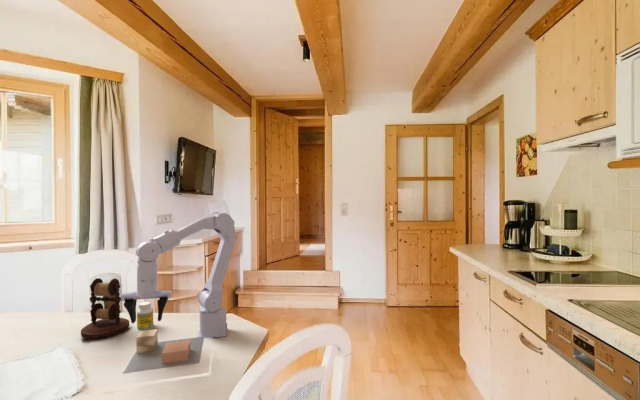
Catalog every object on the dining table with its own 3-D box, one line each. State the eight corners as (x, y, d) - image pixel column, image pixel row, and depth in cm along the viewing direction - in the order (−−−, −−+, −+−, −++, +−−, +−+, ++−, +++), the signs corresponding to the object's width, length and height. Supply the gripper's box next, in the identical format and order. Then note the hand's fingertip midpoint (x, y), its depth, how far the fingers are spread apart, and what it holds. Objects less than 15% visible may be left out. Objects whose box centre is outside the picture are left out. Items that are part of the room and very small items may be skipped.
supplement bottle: (152, 324, 124) (152, 300, 124) (154, 329, 119) (153, 303, 119) (136, 327, 121) (136, 302, 121) (137, 332, 116) (137, 306, 116)
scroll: (138, 325, 123) (137, 274, 123) (109, 343, 108) (108, 284, 108) (103, 324, 125) (102, 273, 124) (69, 341, 110) (68, 283, 110)
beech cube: (157, 344, 106) (157, 329, 106) (154, 351, 101) (153, 335, 101) (140, 346, 105) (140, 331, 105) (136, 353, 100) (136, 337, 100)
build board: (203, 338, 112) (203, 328, 111) (199, 364, 94) (199, 352, 94) (140, 345, 106) (140, 335, 106) (122, 375, 89) (122, 362, 89)
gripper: (117, 283, 97) (117, 328, 97) (169, 281, 101) (168, 323, 101) (125, 278, 104) (124, 319, 104) (173, 275, 108) (172, 315, 108)
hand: (146, 321), depth 103 cm, fingers open, 7 cm apart
